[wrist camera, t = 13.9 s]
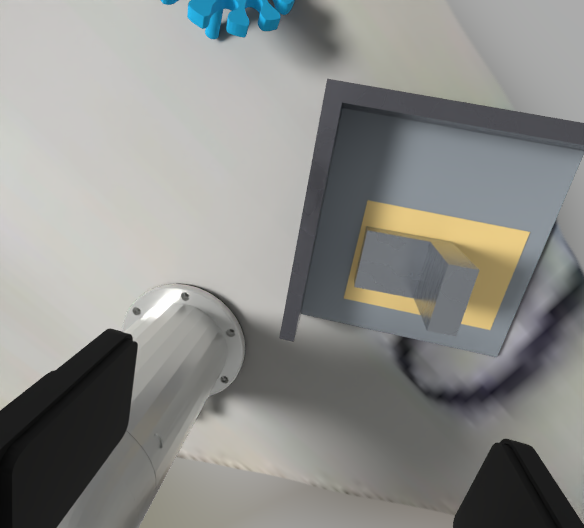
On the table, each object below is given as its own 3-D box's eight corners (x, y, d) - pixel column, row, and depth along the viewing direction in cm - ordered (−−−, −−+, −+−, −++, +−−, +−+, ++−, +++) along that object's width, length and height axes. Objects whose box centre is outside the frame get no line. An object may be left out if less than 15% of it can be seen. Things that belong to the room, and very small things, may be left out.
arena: (494, 354, 34) (521, 393, 29) (289, 308, 35) (279, 338, 30) (587, 134, 27) (644, 133, 22) (330, 89, 29) (327, 78, 24)
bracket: (451, 241, 31) (479, 270, 24) (434, 296, 32) (456, 336, 26) (366, 226, 31) (371, 249, 25) (354, 280, 33) (355, 316, 26)
